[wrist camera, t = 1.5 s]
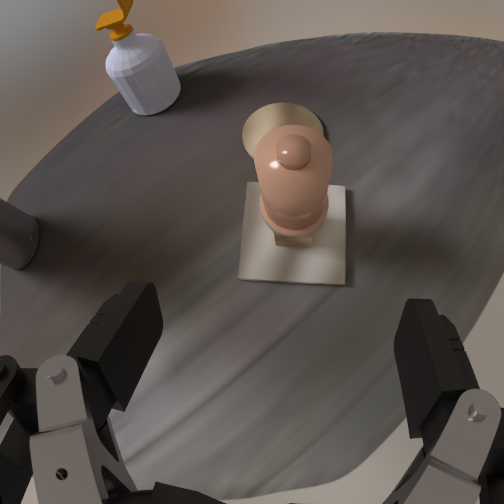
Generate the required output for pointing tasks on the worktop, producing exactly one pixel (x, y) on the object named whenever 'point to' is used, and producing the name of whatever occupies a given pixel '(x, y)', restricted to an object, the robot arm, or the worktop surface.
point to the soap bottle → (139, 65)
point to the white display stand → (294, 246)
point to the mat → (276, 122)
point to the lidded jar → (293, 179)
